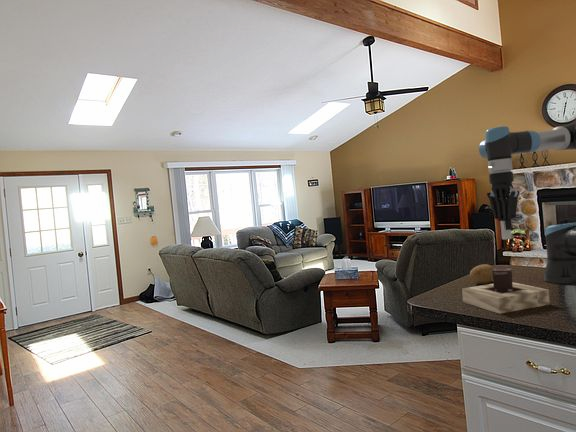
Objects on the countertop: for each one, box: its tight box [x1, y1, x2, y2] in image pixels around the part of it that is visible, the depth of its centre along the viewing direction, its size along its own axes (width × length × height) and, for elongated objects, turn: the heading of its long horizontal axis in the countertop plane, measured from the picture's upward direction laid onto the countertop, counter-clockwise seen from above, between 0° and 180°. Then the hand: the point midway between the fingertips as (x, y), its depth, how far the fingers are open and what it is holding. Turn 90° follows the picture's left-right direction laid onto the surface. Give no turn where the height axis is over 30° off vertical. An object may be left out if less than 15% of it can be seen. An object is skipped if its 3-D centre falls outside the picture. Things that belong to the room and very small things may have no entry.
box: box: [492, 267, 513, 293], centre depth 148 cm, size 6×4×12 cm
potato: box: [469, 263, 494, 285], centre depth 181 cm, size 10×14×8 cm
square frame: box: [461, 281, 551, 314], centre depth 148 cm, size 20×18×5 cm
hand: (506, 238), depth 149 cm, fingers closed
